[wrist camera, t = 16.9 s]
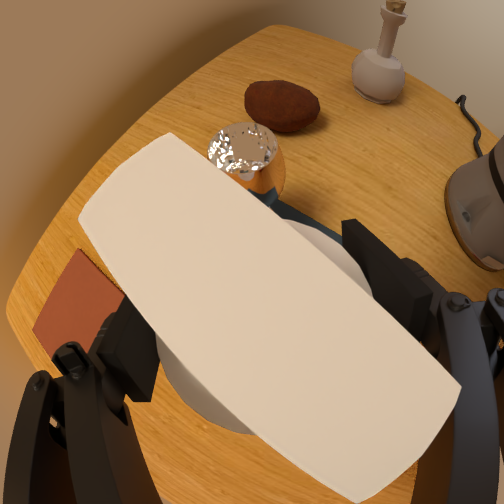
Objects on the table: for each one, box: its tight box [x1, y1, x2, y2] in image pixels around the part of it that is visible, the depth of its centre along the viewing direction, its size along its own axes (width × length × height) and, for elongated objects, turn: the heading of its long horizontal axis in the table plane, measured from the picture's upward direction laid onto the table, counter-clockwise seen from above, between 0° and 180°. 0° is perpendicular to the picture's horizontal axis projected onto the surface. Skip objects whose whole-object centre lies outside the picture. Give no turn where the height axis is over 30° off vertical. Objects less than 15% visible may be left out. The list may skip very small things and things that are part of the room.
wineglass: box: [207, 122, 286, 213], centre depth 22 cm, size 6×6×12 cm
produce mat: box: [32, 248, 125, 359], centre depth 27 cm, size 14×12×1 cm
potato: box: [245, 80, 320, 132], centre depth 30 cm, size 7×9×6 cm
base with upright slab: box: [78, 132, 461, 504], centre depth 10 cm, size 9×9×12 cm
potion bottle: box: [352, 0, 407, 104], centre depth 26 cm, size 9×9×18 cm
